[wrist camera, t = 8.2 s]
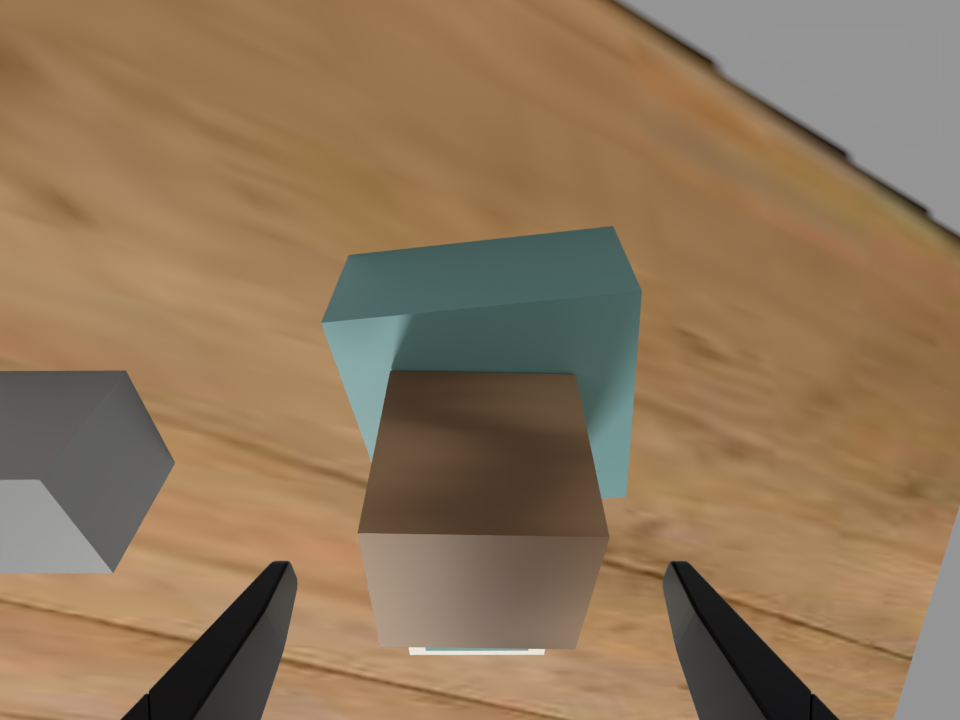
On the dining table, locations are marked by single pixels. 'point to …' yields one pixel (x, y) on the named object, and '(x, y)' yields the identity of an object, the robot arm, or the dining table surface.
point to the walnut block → (482, 512)
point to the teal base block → (497, 325)
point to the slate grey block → (74, 470)
